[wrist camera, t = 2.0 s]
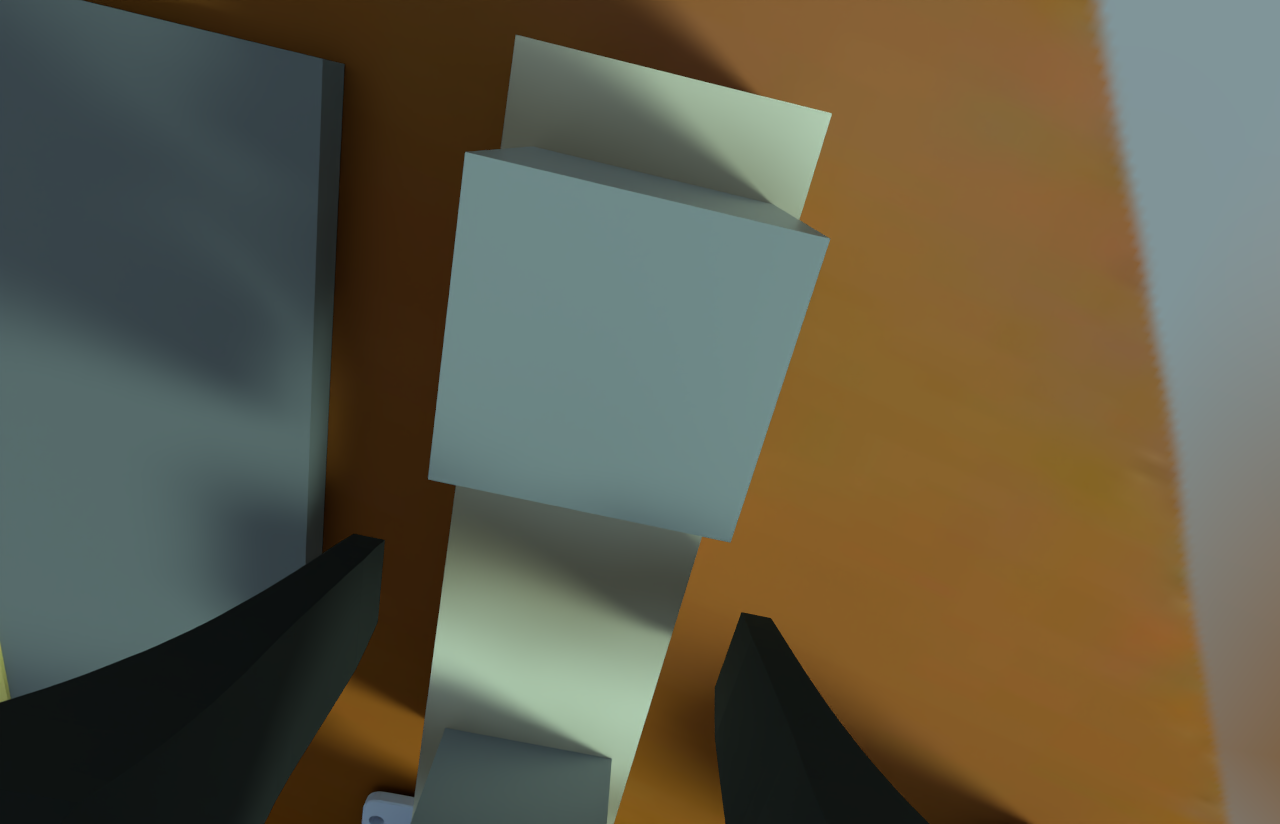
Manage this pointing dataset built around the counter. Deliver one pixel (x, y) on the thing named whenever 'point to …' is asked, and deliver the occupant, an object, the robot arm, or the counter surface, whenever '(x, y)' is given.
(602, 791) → the block
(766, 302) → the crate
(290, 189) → the dock
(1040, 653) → the counter surface
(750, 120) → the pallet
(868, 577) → the counter surface
